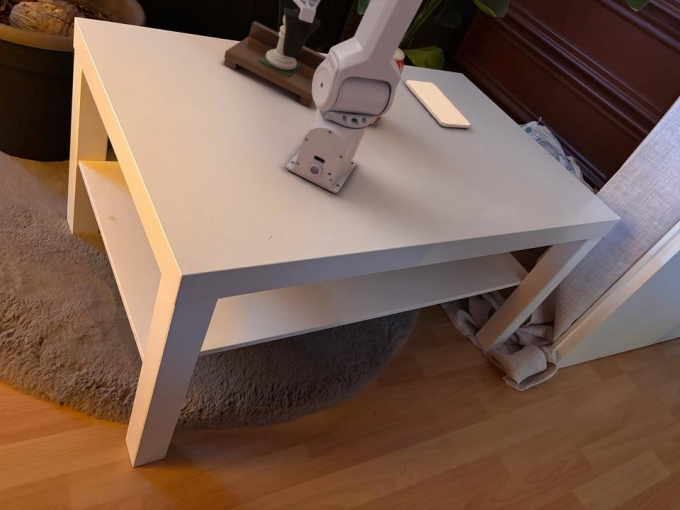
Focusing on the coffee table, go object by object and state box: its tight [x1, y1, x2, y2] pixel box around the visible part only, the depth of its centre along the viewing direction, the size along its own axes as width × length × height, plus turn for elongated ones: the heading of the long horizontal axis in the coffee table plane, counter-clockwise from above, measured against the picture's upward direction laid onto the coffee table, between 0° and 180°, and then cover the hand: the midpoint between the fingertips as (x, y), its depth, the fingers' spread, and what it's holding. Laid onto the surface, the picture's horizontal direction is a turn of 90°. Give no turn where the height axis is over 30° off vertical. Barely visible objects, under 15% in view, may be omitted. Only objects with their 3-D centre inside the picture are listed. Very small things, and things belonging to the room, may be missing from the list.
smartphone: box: [405, 79, 471, 129], centre depth 109 cm, size 7×1×15 cm
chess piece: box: [266, 10, 297, 70], centre depth 91 cm, size 5×5×9 cm
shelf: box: [223, 20, 327, 108], centre depth 94 cm, size 10×16×5 cm, turn 71°
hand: (286, 44), depth 92 cm, fingers open, 7 cm apart
